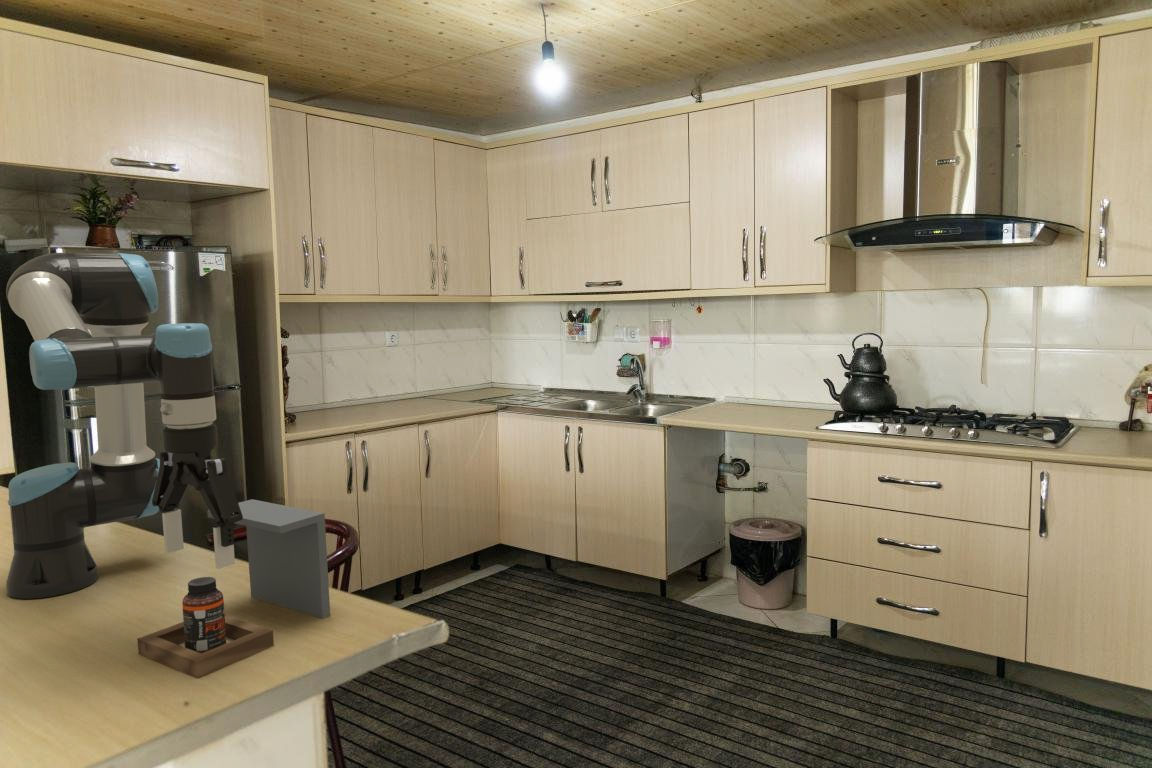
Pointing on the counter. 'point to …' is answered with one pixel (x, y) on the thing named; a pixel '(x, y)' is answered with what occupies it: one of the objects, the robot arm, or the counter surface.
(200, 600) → the supplement bottle
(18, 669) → the counter surface
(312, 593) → the grey l-shaped bracket
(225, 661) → the wooden frame
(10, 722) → the counter surface
